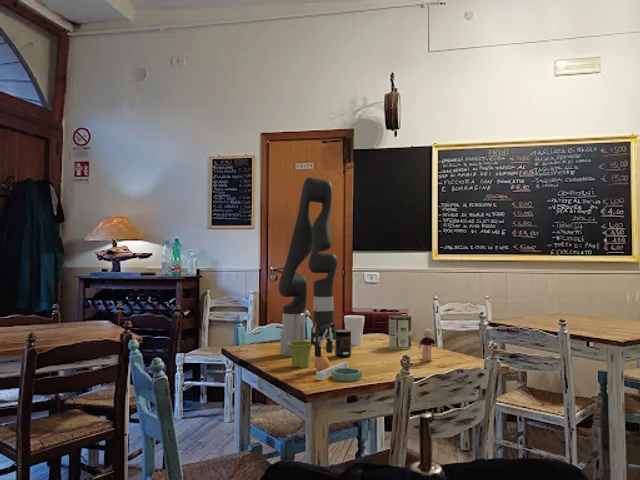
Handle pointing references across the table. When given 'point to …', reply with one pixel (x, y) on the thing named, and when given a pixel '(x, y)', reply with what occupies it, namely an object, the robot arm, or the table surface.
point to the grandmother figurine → (427, 346)
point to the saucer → (346, 374)
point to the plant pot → (300, 353)
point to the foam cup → (354, 328)
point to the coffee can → (400, 332)
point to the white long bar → (330, 371)
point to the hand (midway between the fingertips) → (323, 354)
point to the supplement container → (343, 343)
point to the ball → (321, 363)
